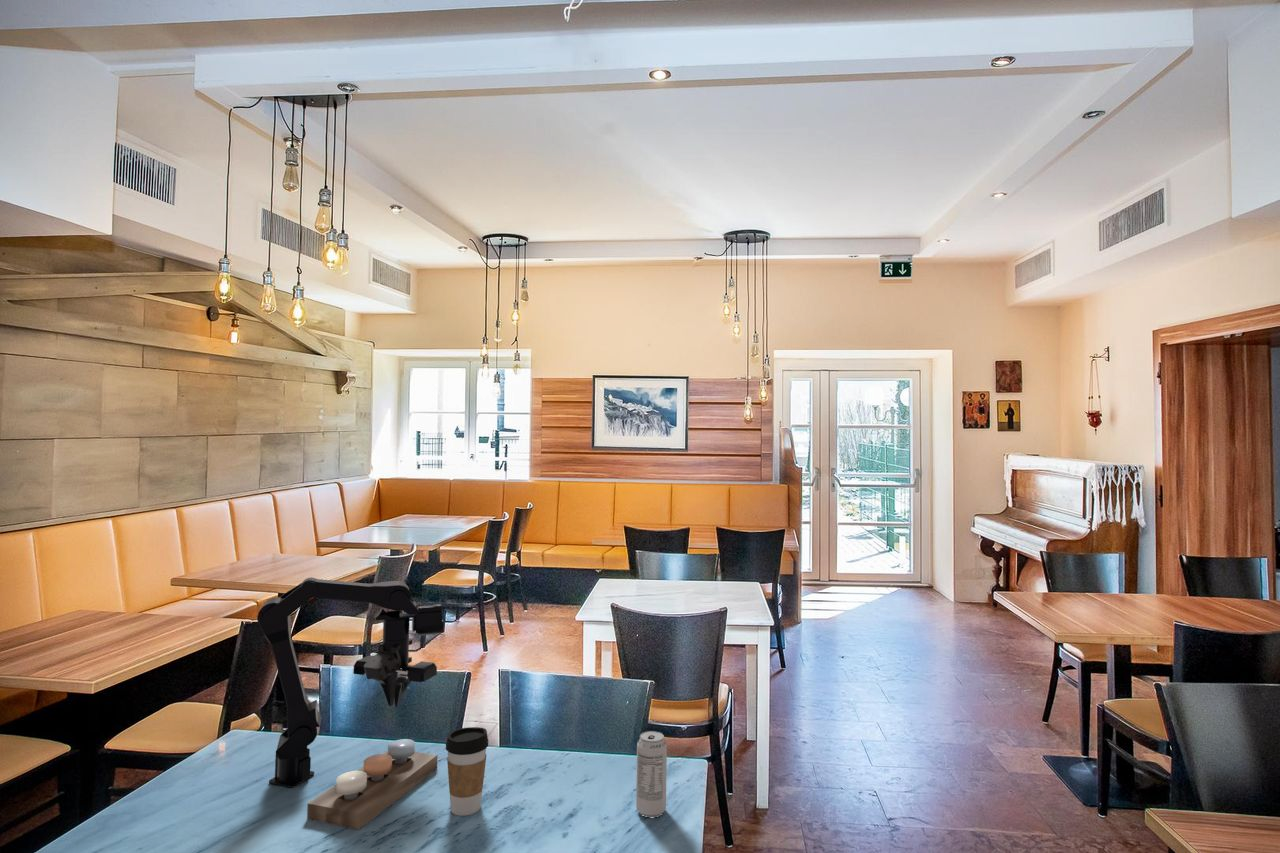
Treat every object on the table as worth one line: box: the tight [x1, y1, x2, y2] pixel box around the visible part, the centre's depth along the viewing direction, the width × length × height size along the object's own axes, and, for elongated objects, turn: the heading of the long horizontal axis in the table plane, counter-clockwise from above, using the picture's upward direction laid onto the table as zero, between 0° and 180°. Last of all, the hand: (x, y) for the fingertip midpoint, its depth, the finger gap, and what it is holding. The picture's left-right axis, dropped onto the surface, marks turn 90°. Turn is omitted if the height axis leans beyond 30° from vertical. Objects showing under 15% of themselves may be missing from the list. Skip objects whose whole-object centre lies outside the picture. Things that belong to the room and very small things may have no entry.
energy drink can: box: [635, 730, 668, 817], centre depth 136 cm, size 6×6×15 cm
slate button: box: [387, 738, 416, 765], centre depth 150 cm, size 6×6×5 cm
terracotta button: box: [362, 753, 392, 782], centre depth 142 cm, size 6×6×5 cm
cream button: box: [335, 770, 367, 801], centre depth 135 cm, size 6×6×5 cm
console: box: [306, 750, 438, 830], centre depth 142 cm, size 12×26×3 cm, turn 164°
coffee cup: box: [445, 726, 489, 817], centre depth 137 cm, size 8×8×15 cm
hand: (394, 706), depth 156 cm, fingers closed
